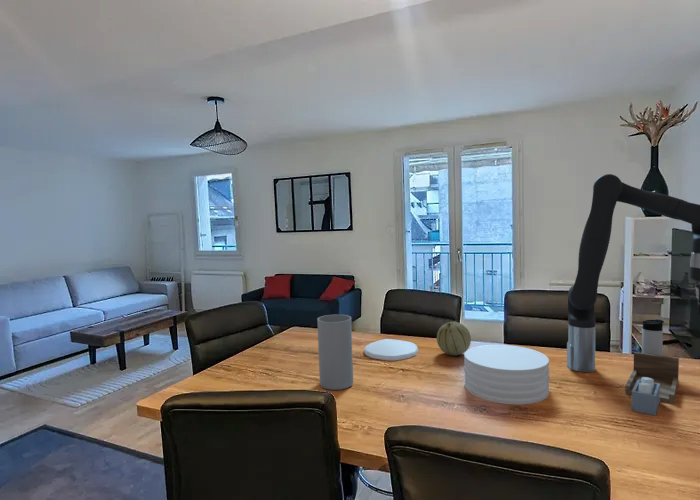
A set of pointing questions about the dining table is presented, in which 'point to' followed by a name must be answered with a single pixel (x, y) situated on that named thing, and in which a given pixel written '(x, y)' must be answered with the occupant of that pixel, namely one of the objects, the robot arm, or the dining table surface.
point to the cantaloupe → (453, 338)
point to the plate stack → (507, 374)
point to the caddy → (646, 396)
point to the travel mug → (652, 337)
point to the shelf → (656, 374)
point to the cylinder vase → (335, 351)
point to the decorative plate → (391, 349)
